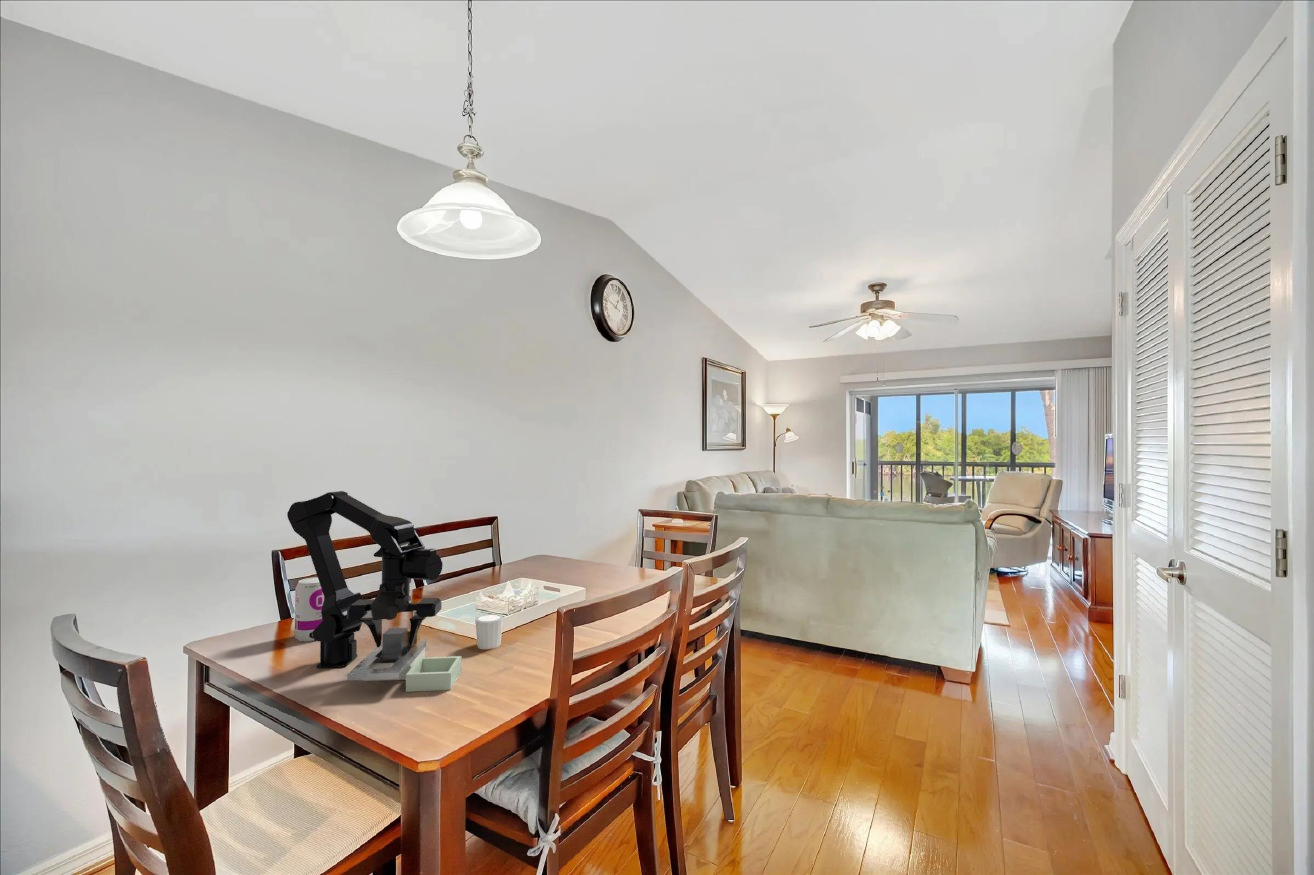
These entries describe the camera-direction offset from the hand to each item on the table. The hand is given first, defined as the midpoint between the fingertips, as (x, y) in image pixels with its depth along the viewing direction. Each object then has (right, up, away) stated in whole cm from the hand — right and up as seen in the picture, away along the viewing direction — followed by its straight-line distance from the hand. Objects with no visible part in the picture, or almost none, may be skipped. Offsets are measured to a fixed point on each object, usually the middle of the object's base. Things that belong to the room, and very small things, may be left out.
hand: (395, 646), depth 124 cm
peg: (0, -6, 0) cm, 6 cm away
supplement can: (-31, -6, +21) cm, 38 cm away
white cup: (+16, -6, +16) cm, 24 cm away
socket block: (0, -6, 0) cm, 6 cm away
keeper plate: (0, -2, -3) cm, 4 cm away
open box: (+11, -6, -5) cm, 14 cm away
